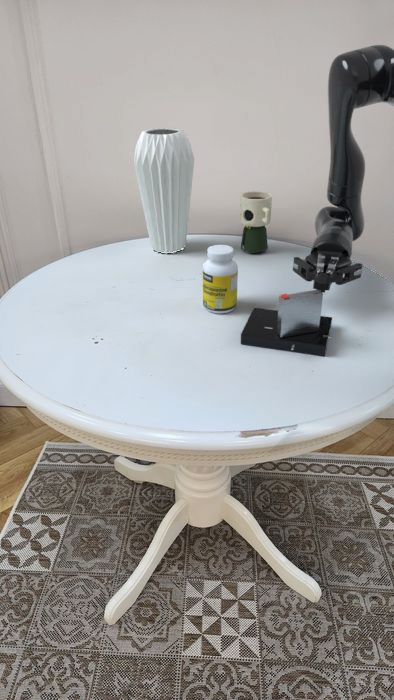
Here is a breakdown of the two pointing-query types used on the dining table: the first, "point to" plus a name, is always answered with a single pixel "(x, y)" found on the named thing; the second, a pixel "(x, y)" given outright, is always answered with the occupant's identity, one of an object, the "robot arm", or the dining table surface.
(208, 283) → the pill bottle
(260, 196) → the character mug
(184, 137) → the vase
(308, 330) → the grey battery block
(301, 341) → the black base plate
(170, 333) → the dining table surface
